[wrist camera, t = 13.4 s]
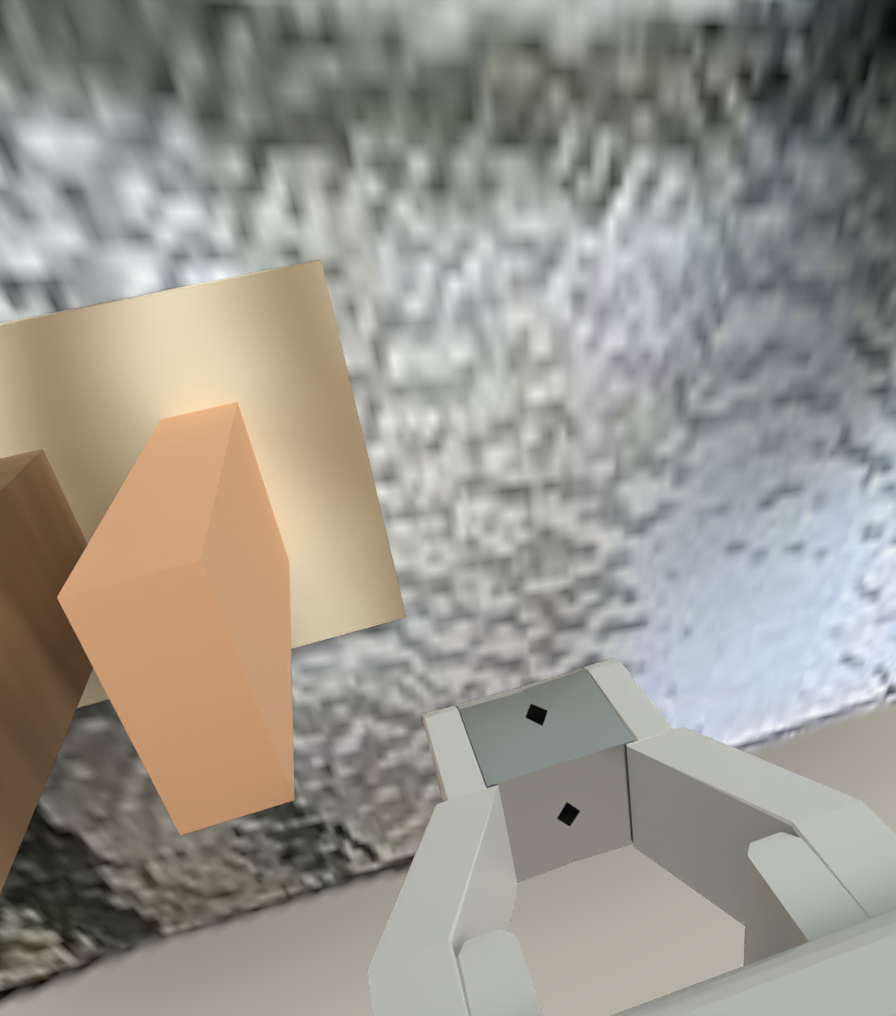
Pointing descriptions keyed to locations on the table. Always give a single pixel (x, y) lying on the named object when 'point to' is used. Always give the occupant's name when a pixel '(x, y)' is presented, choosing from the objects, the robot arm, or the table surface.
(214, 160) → the table surface
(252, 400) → the birch board
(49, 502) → the domino
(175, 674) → the domino
